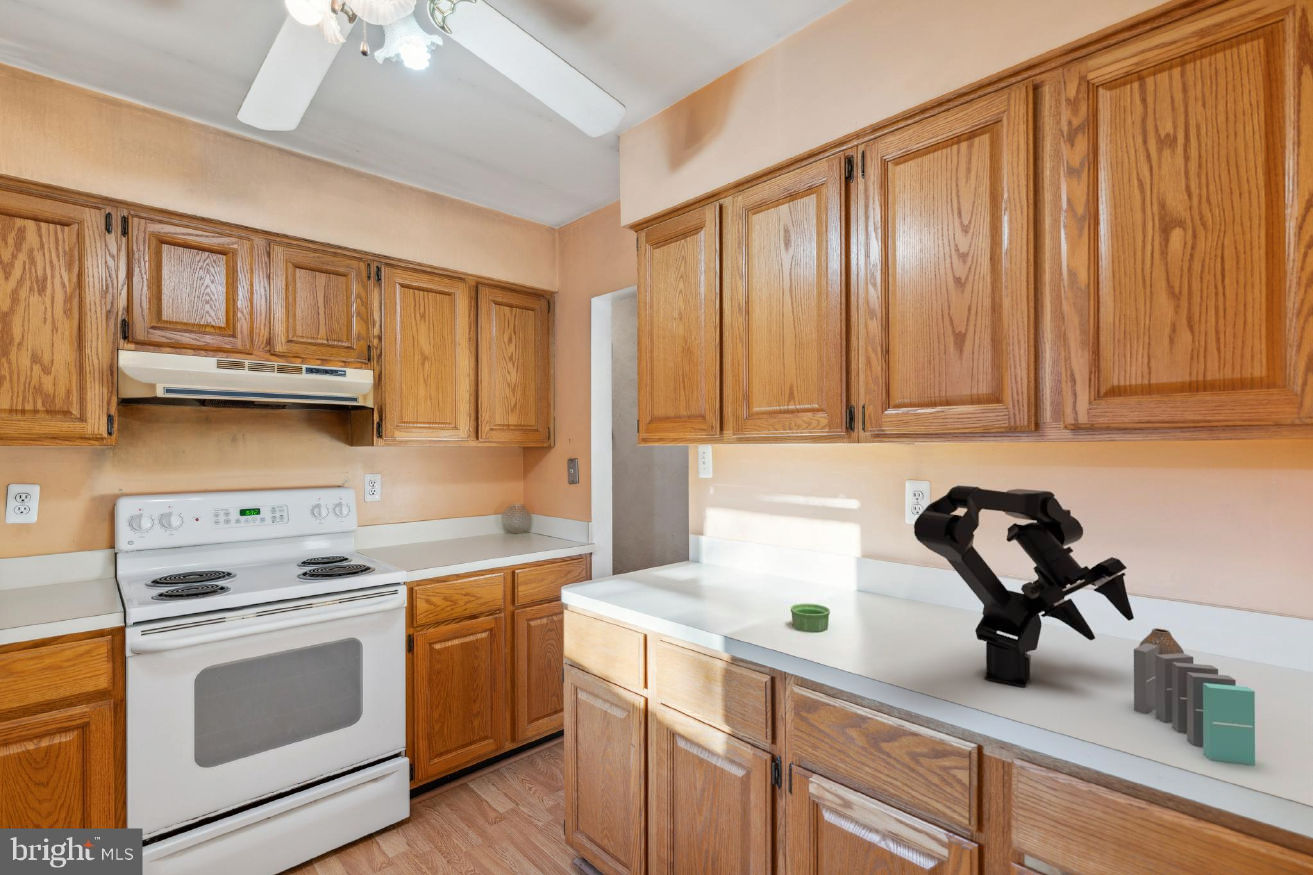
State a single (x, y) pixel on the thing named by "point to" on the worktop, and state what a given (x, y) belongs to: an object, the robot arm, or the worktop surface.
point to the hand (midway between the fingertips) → (1112, 629)
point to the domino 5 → (1229, 723)
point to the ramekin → (810, 617)
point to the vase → (1163, 642)
